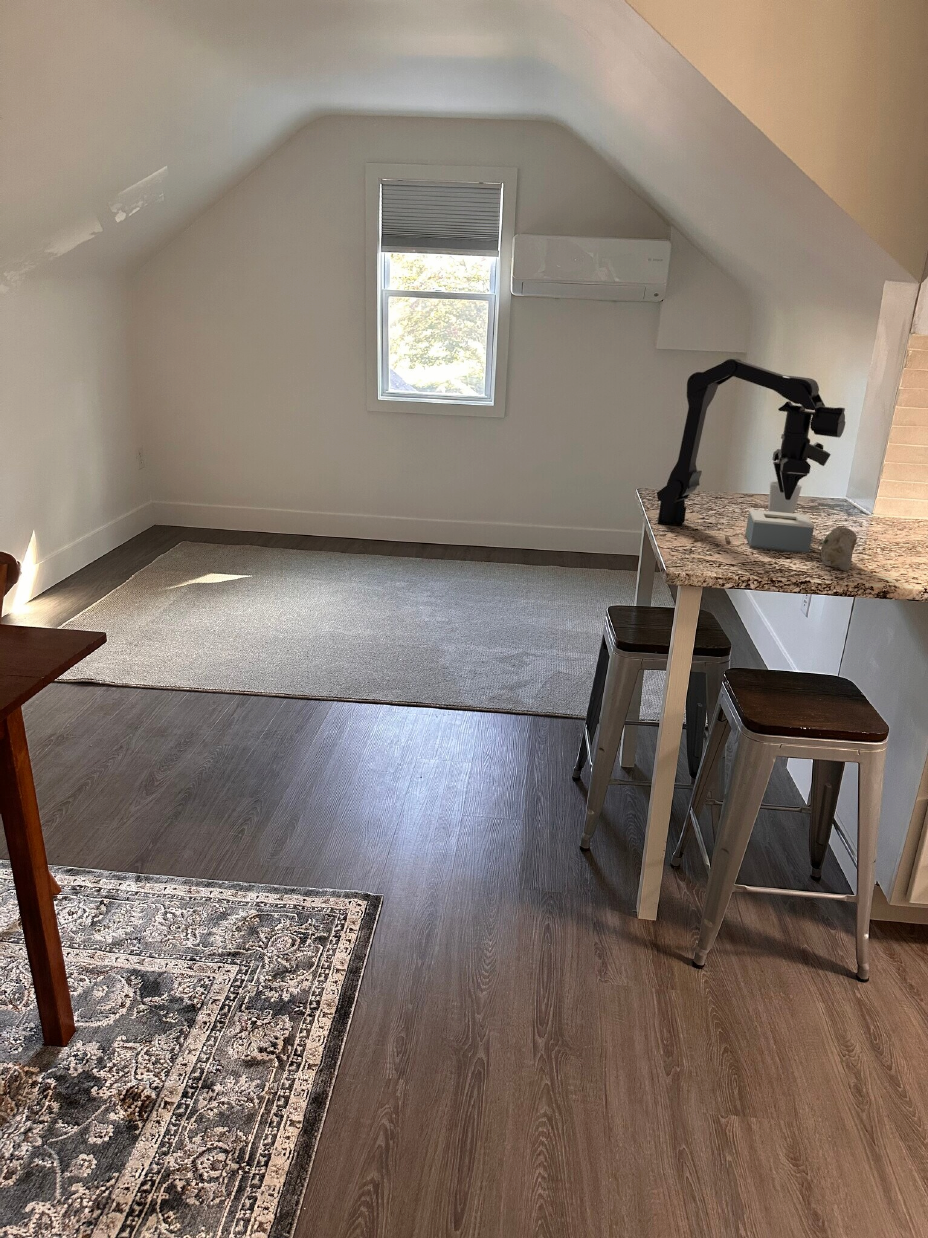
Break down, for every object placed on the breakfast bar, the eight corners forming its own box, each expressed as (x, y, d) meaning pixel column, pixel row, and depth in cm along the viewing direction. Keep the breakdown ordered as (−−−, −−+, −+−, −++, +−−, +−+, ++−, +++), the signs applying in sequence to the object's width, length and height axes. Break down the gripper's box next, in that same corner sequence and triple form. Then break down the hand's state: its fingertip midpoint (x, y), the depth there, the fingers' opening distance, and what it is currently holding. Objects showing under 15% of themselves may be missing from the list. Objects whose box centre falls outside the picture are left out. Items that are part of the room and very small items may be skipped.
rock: (816, 550, 220) (831, 515, 213) (844, 557, 218) (860, 522, 212) (814, 577, 211) (829, 542, 204) (843, 585, 209) (859, 550, 203)
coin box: (749, 547, 223) (754, 519, 221) (744, 535, 235) (749, 509, 232) (809, 553, 221) (814, 525, 219) (801, 541, 232) (806, 514, 230)
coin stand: (694, 540, 227) (695, 537, 227) (693, 535, 231) (694, 532, 231) (729, 544, 226) (730, 540, 225) (728, 539, 230) (728, 536, 230)
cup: (795, 533, 241) (803, 488, 237) (764, 530, 242) (772, 485, 238) (791, 526, 248) (799, 482, 244) (761, 523, 249) (768, 480, 245)
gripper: (838, 440, 208) (826, 506, 214) (823, 429, 226) (812, 491, 231) (788, 436, 210) (777, 502, 215) (777, 426, 228) (767, 487, 233)
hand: (784, 495), depth 224 cm, fingers open, 9 cm apart
